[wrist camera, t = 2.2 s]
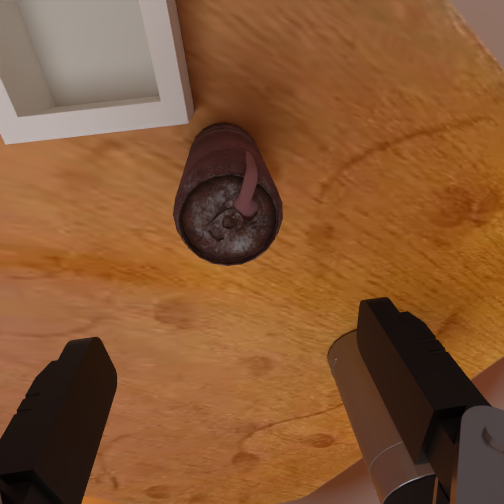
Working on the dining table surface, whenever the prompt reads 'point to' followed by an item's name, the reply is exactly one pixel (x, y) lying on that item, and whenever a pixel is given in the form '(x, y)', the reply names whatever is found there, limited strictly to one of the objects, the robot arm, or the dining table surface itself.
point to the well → (90, 68)
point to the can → (227, 198)
